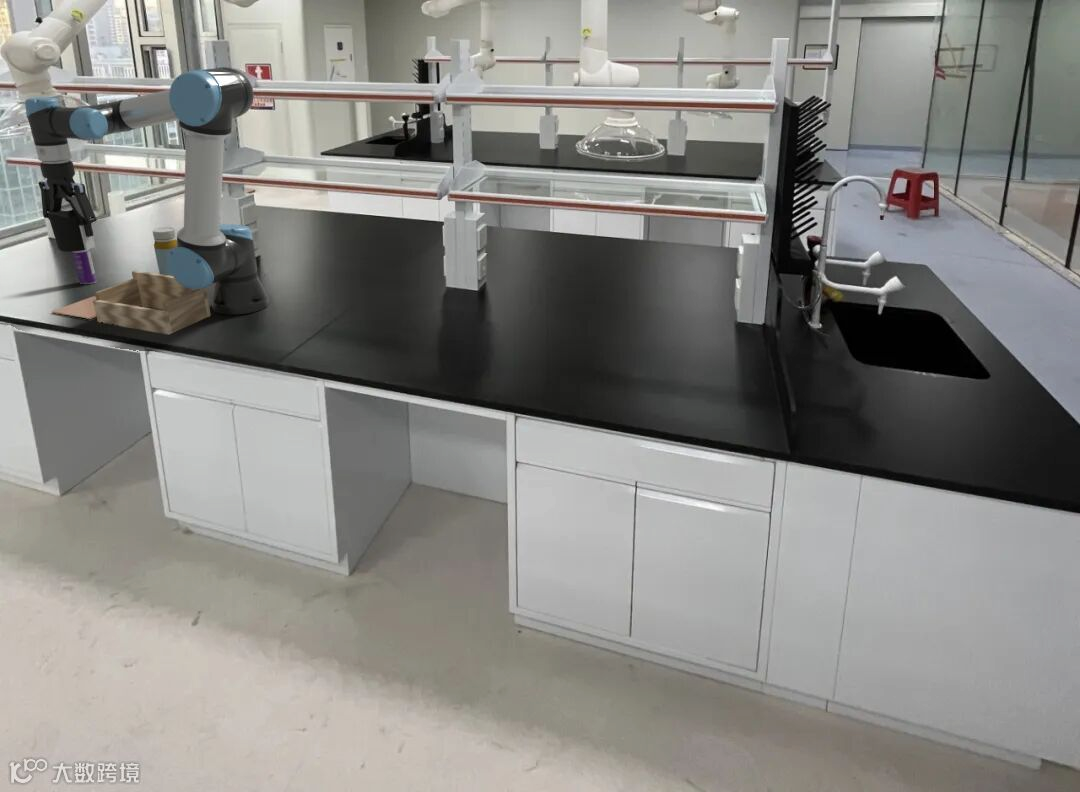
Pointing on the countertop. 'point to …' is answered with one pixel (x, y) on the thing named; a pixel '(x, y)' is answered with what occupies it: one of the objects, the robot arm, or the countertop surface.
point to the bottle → (164, 247)
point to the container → (84, 267)
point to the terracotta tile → (79, 309)
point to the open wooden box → (151, 304)
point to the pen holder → (66, 230)
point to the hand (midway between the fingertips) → (76, 246)
